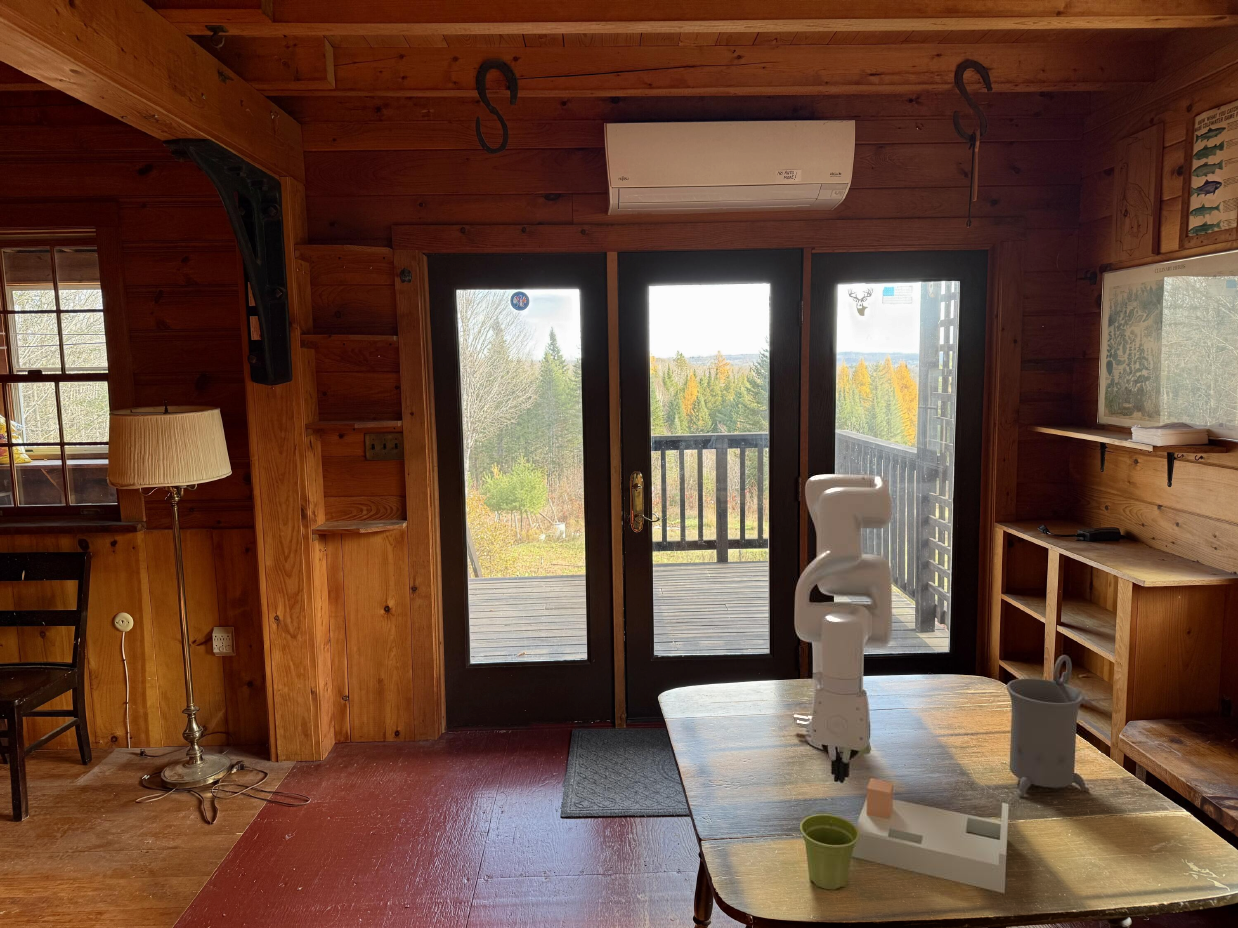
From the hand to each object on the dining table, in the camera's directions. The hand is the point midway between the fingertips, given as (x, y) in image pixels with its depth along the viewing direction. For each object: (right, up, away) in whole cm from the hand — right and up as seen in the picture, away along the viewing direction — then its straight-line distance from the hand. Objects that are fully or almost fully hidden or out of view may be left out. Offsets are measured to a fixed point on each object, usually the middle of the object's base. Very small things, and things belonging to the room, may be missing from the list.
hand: (840, 779), depth 153 cm
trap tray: (+13, -9, -8) cm, 18 cm away
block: (+7, -5, -2) cm, 9 cm away
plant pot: (-6, -10, -17) cm, 21 cm away
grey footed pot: (+44, -6, +14) cm, 47 cm away
